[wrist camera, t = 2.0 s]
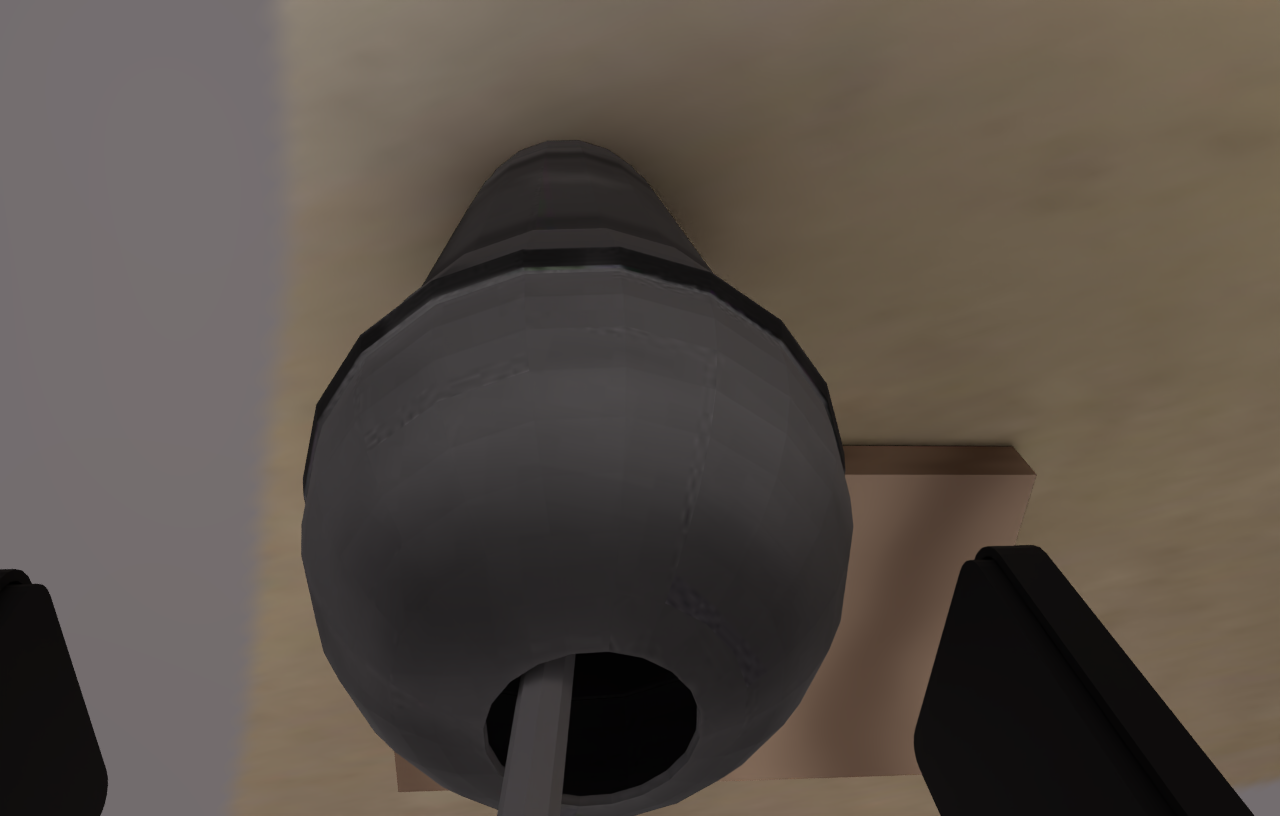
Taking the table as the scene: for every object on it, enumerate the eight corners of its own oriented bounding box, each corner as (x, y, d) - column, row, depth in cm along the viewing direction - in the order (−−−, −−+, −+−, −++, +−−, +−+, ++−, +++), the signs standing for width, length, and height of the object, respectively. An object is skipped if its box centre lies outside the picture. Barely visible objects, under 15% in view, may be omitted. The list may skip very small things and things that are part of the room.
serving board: (1013, 446, 27) (1037, 475, 25) (927, 738, 32) (943, 773, 31) (376, 443, 25) (366, 474, 24) (404, 753, 31) (398, 791, 29)
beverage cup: (573, 417, 25) (631, 1611, 8) (351, 239, 22) (-374, 1505, 5) (774, 227, 23) (1488, 1278, 6) (557, 3, 20) (618, 725, 3)
